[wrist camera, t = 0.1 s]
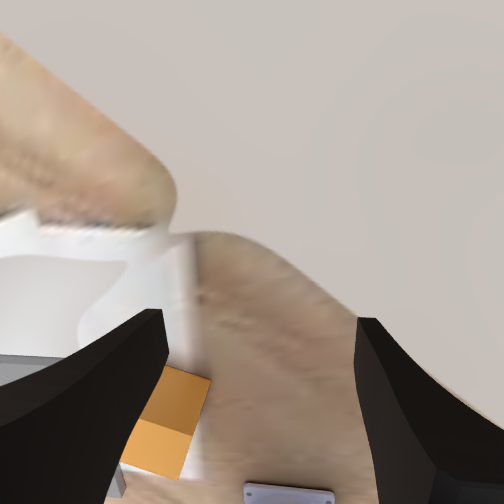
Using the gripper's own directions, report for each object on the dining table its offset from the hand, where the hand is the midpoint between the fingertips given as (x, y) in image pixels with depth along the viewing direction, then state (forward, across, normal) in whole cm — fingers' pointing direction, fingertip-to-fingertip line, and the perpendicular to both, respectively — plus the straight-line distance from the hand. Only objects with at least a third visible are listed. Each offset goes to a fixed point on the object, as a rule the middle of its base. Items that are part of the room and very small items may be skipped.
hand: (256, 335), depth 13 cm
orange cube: (+10, +9, +14) cm, 19 cm away
